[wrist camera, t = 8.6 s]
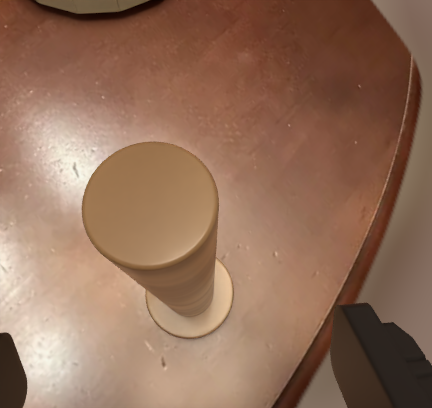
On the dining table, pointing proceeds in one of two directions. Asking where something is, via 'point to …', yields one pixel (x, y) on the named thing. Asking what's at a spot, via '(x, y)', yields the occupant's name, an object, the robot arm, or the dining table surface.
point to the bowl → (92, 5)
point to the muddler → (162, 233)
